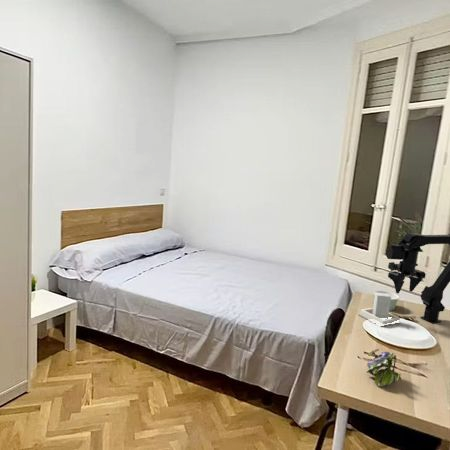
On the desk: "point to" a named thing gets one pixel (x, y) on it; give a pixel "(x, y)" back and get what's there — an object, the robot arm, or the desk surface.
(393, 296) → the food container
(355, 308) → the desk surface
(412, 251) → the robot arm
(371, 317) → the white shallow square tray
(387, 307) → the skincare box
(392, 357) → the passion flower
